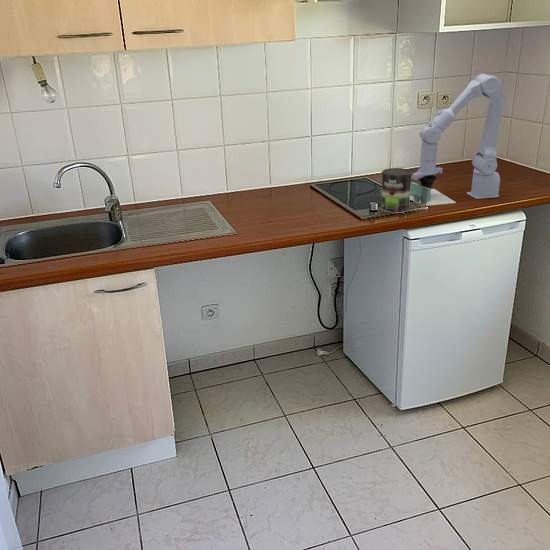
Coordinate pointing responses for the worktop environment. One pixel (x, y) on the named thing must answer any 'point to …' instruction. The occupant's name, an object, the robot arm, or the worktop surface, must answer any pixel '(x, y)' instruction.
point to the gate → (419, 190)
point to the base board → (436, 199)
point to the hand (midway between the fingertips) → (425, 194)
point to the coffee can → (396, 189)
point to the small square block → (422, 196)
